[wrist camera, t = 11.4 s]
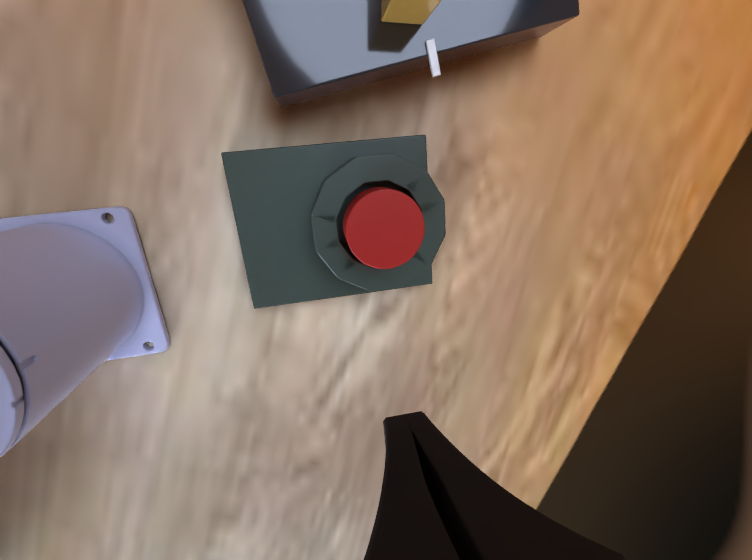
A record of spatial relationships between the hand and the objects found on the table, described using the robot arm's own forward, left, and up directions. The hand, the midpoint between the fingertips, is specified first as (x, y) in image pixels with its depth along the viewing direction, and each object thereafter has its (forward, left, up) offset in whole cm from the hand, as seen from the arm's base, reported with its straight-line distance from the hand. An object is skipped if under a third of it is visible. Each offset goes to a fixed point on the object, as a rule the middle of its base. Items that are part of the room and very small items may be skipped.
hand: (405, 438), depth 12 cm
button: (+1, +6, -8) cm, 10 cm away
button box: (-1, +6, -10) cm, 12 cm away
